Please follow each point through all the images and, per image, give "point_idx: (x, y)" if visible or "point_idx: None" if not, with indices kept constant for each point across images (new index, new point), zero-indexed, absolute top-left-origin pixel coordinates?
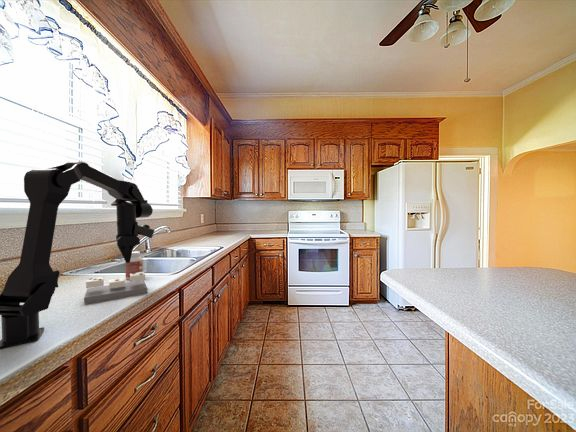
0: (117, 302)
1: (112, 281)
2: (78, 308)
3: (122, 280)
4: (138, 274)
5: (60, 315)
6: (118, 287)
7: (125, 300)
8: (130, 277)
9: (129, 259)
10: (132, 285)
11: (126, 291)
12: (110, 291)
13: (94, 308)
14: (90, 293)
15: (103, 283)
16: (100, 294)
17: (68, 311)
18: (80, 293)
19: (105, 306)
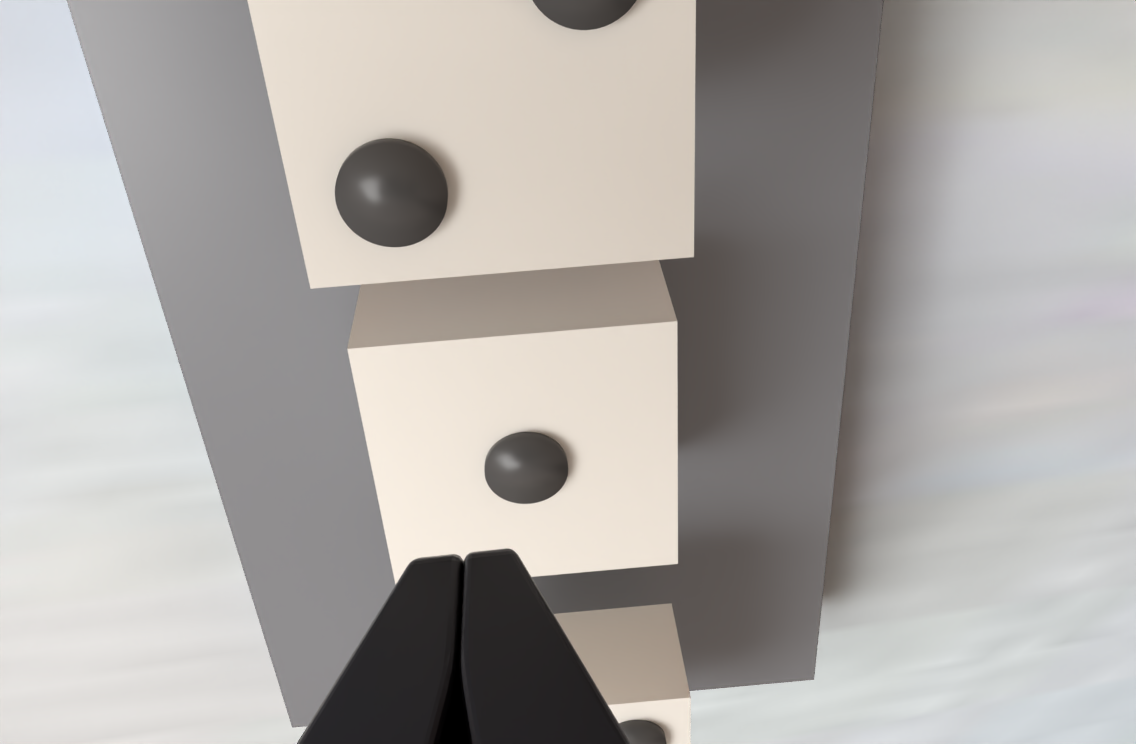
0: (1044, 263)
1: (592, 530)
2: (924, 629)
3: (620, 371)
4: (587, 49)
5: (1040, 713)
6: None
7: (1035, 157)
8: (664, 239)
9: (557, 651)
10: None
11: (859, 194)
12: (707, 440)
13: (1075, 490)
14: None
15: (619, 632)
16: (796, 541)
17: (959, 684)
18: (217, 723)
19: (1104, 389)
